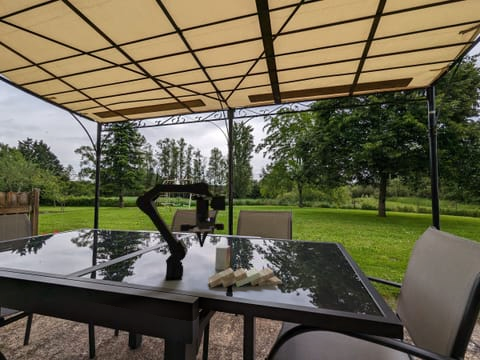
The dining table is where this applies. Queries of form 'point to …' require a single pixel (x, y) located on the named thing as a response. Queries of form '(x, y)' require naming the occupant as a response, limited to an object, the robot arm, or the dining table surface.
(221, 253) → the small box
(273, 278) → the domino
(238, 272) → the domino
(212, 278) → the domino
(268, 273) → the domino
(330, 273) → the dining table surface
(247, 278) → the domino
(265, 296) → the dining table surface
